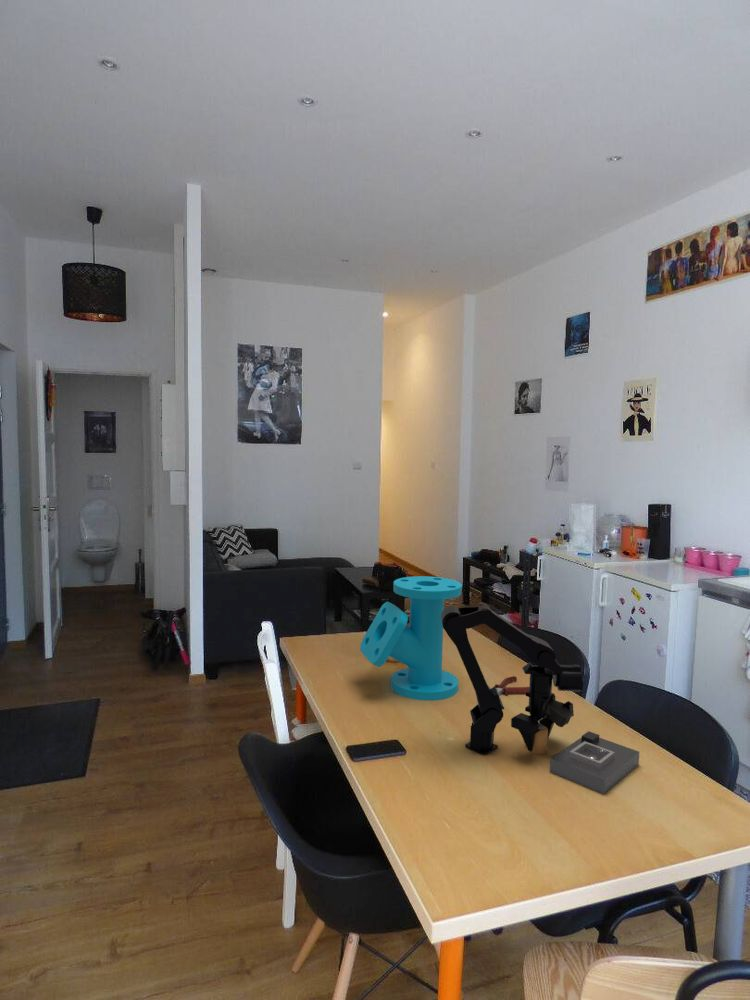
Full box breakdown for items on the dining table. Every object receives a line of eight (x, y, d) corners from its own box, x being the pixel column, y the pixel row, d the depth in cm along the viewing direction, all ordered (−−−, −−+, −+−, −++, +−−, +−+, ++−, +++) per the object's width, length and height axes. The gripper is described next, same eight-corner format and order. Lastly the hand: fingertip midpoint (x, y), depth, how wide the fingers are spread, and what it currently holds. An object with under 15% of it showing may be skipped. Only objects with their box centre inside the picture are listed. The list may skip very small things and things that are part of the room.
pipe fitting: (469, 696, 202) (473, 589, 199) (374, 706, 193) (377, 594, 190) (442, 672, 224) (445, 575, 220) (355, 680, 214) (357, 578, 211)
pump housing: (541, 756, 164) (542, 731, 164) (518, 747, 169) (519, 722, 168) (550, 750, 168) (551, 725, 167) (528, 741, 172) (529, 717, 172)
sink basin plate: (604, 794, 147) (605, 774, 146) (549, 771, 156) (550, 752, 156) (638, 764, 161) (639, 746, 160) (586, 745, 171) (587, 727, 170)
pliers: (471, 693, 206) (471, 685, 206) (513, 681, 218) (514, 674, 217) (496, 706, 197) (496, 697, 197) (539, 692, 208) (540, 685, 208)
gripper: (550, 708, 154) (547, 769, 155) (585, 689, 167) (582, 745, 169) (511, 695, 162) (508, 753, 163) (547, 677, 175) (545, 731, 176)
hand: (537, 746), depth 168 cm, fingers open, 7 cm apart
